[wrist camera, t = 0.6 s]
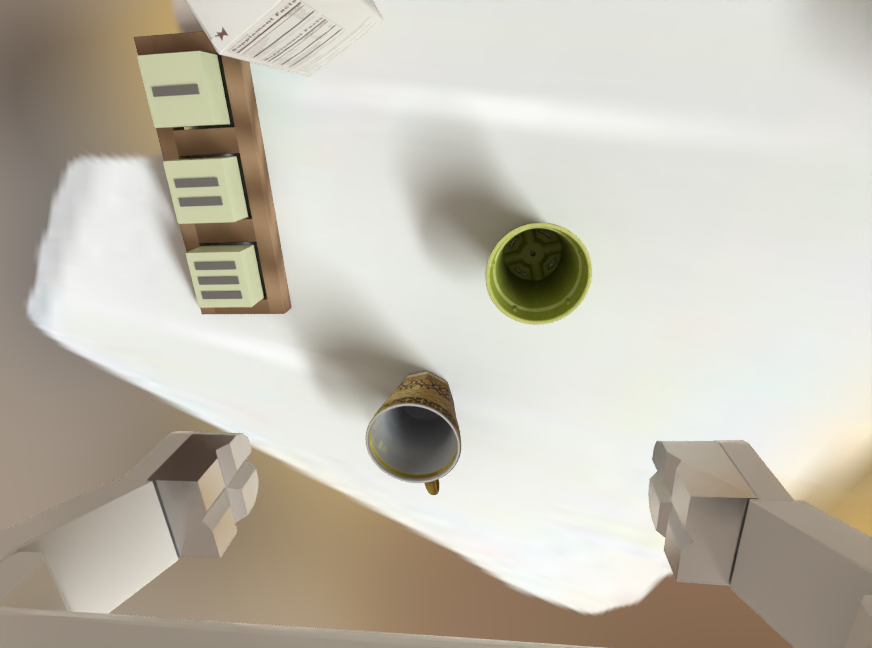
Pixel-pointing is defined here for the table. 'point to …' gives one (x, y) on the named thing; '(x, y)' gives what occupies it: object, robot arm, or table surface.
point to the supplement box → (285, 29)
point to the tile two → (206, 190)
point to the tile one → (184, 89)
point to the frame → (254, 166)
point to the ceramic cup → (416, 432)
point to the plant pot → (538, 274)
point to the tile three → (225, 276)
